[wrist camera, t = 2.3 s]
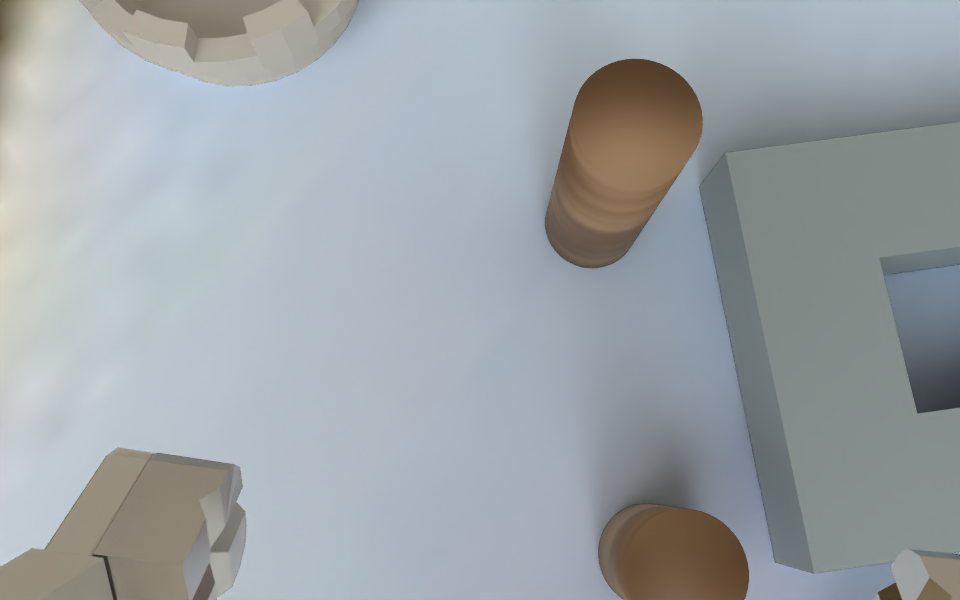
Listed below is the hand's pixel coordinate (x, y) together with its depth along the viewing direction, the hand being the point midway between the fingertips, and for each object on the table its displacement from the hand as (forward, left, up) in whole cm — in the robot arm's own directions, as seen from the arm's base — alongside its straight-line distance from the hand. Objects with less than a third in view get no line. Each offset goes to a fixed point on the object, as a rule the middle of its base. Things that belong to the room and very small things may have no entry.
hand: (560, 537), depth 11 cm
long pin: (+11, -5, -24) cm, 27 cm away
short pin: (-3, -5, -24) cm, 25 cm away
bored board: (+4, -18, -24) cm, 31 cm away
